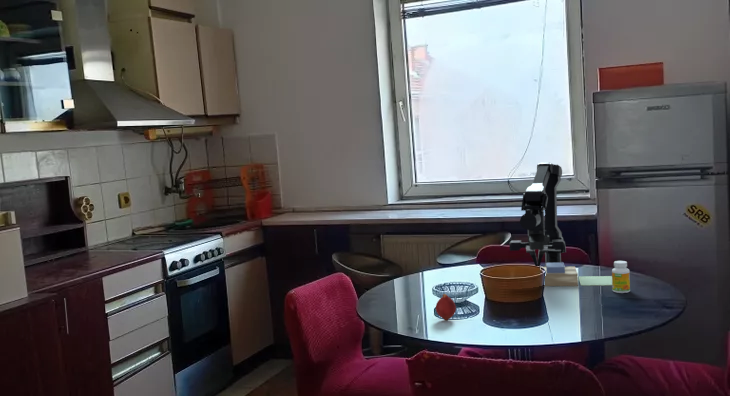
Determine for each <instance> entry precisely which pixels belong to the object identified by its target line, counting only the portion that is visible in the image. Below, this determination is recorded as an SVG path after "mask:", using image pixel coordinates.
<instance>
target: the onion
mask: <svg viewBox="0 0 730 396" xmlns="http://www.w3.org/2000/svg"><path fill="white" fill-rule="evenodd" d="M435 311H436V314H437V315H438V316H439V317H440V318H442V319H443V320H444V321H448V320H450V319H451V318H452V317H453V316H454V315H455V314H456V311H457V306H456V303H455V302H454V300H453V299H452V297H450V296H449V295H447V294H446V293H443V294H442V297H440V299H438V301H437V302H436V304H435Z"/></svg>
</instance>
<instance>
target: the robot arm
mask: <svg viewBox="0 0 730 396" xmlns="http://www.w3.org/2000/svg"><path fill="white" fill-rule="evenodd" d="M562 176H563V168H562V166H560V165H559V164H558V163H557V164H553V163H551V162H539V163H537V166H536V172H535V176H534V179H533V181H532V184H531V185H529V186H528V187H527V188H526V189H525V191H524V193H523V194H522V201H521V208H520V210H521V211H523V212H524V214H522V215H521V217H520V219H519V225H520V226H521V228H523V229H524V230H526V231H527V242H522V240H521V239H520V240H517V239H516V240H513V239H512V240H511V241H510V242H509V247H508V248H509V252H510V251H511V252H512V251H513V252H514V251H520V250H521V249H525V251H526V253H528V254H530V256H531V258H532V261H533V263H534V264H533V265H534V266H539V268H541V263H542V259H543V258H544V256H545V264H544V267H546V263H562V255H561V254H563V253H567V248H566V241H565V240H564V237H563V235H562V234H563V232H562V231H561V229H560V228H559V226H558V210H557V209H558V202H557V199H558V195H557V192H558V191H557V187H558V186H559V184H560V182H561V178H562ZM536 250H538V254H536Z"/></svg>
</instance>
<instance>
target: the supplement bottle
mask: <svg viewBox="0 0 730 396" xmlns="http://www.w3.org/2000/svg"><path fill="white" fill-rule="evenodd" d="M613 267H614V268H612V269H611V276H612V286H611V287H612V292H614V293H616V294H626V293H629V292H631V280H630V269H629V268H627V267H628V262H627V261H625V260H615V261H614V262H613Z"/></svg>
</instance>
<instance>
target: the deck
mask: <svg viewBox="0 0 730 396" xmlns="http://www.w3.org/2000/svg"><path fill="white" fill-rule="evenodd" d="M541 267H542V268H544V269H545V271H546V276H545V286H544V287H578V283H579V282H578V281H579V278H578V272H577V268H576V266H565V273H547V269H546V267H545V266H541Z"/></svg>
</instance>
